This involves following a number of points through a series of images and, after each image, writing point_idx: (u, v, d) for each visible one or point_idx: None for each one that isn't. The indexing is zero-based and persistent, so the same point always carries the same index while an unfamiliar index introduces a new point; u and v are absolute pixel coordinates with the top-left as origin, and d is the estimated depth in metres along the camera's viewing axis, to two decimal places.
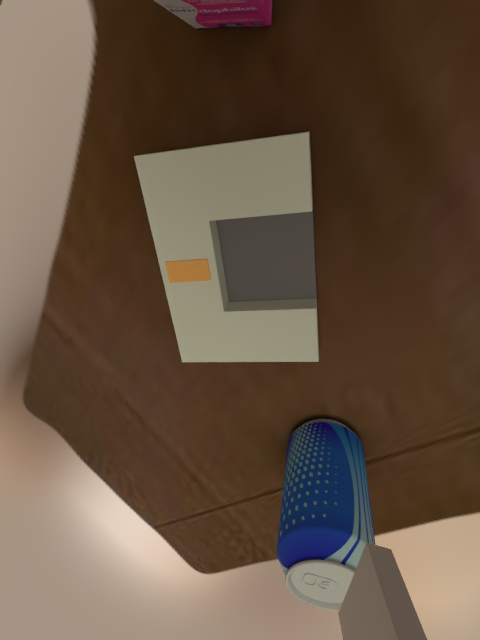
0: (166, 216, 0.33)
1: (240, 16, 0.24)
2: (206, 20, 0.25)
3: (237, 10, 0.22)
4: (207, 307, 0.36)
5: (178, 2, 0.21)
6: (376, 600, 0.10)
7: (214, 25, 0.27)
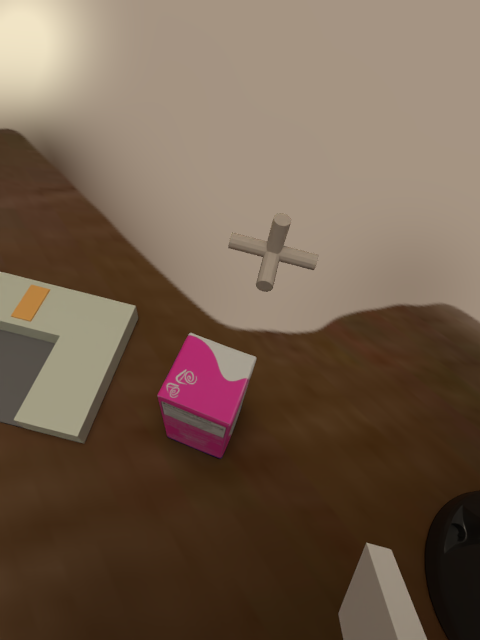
0: (83, 307, 0.39)
1: None
2: None
3: None
4: None
5: None
6: (376, 600, 0.10)
7: None
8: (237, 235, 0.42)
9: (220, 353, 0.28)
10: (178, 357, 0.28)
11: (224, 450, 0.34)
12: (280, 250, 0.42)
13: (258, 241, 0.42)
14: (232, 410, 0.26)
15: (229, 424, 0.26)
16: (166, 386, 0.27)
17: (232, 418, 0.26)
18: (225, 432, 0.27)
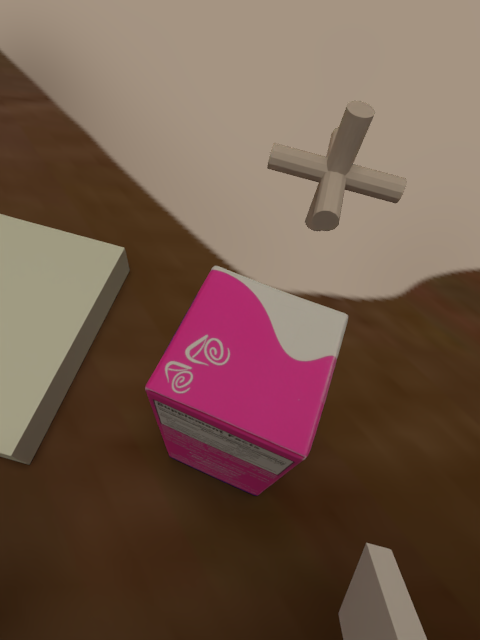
0: (42, 246, 0.25)
1: None
2: None
3: None
4: None
5: None
6: (376, 599, 0.10)
7: None
8: (282, 147, 0.28)
9: (276, 305, 0.14)
10: (191, 310, 0.14)
11: None
12: (349, 168, 0.27)
13: (314, 155, 0.28)
14: (308, 424, 0.12)
15: (304, 456, 0.11)
16: (165, 368, 0.12)
17: (310, 442, 0.12)
18: (287, 468, 0.13)
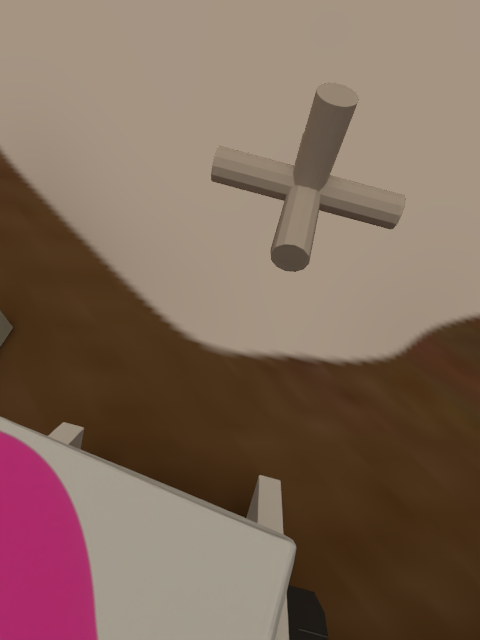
0: None
1: None
2: None
3: None
4: None
5: None
6: (255, 515, 0.12)
7: None
8: (230, 151, 0.20)
9: (118, 529, 0.06)
10: None
11: None
12: (324, 182, 0.19)
13: (275, 163, 0.19)
14: None
15: None
16: None
17: None
18: None
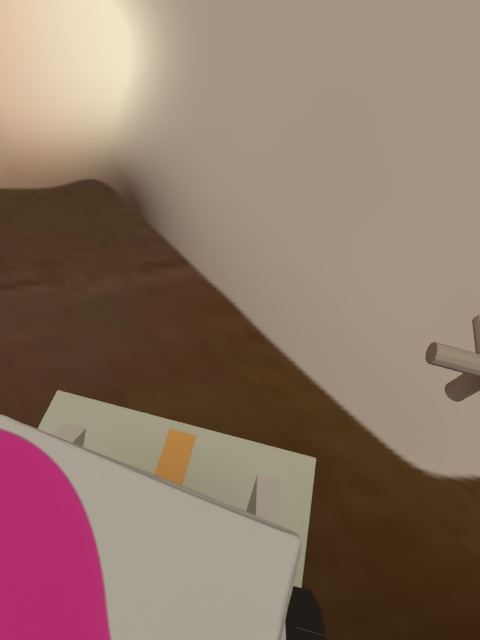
0: (246, 463, 0.27)
1: None
2: None
3: None
4: None
5: None
6: None
7: None
8: (446, 349, 0.30)
9: (127, 526, 0.06)
10: None
11: None
12: None
13: (475, 356, 0.30)
14: None
15: None
16: None
17: None
18: None
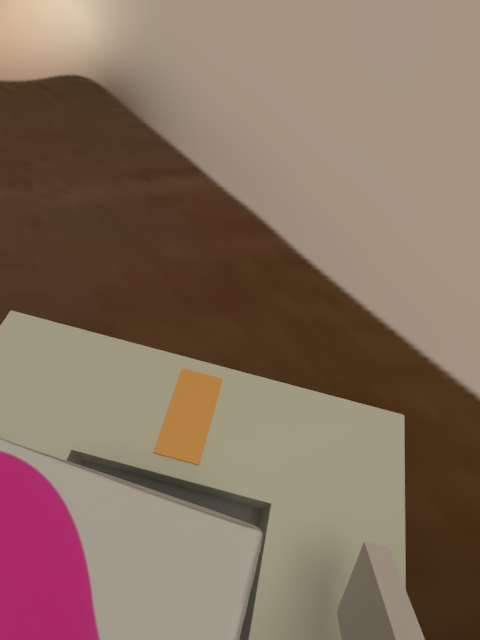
0: (300, 421, 0.18)
1: None
2: None
3: None
4: (99, 418, 0.17)
5: None
6: (374, 598, 0.10)
7: None
8: None
9: (109, 529, 0.07)
10: None
11: None
12: None
13: None
14: None
15: None
16: None
17: None
18: None
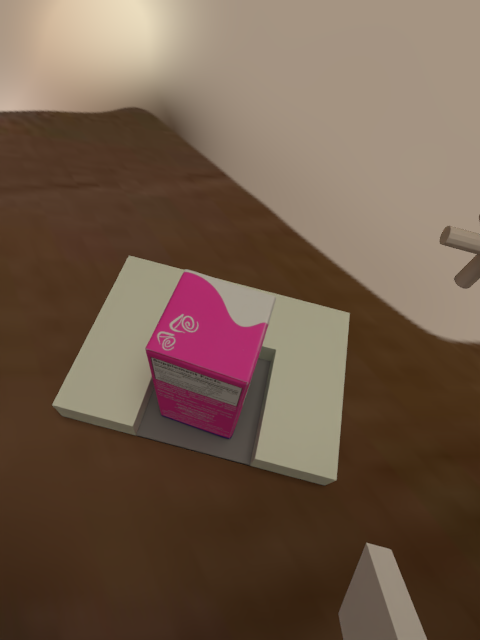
0: (291, 314, 0.32)
1: None
2: None
3: None
4: None
5: None
6: (376, 600, 0.10)
7: None
8: (458, 229, 0.35)
9: (228, 293, 0.21)
10: (171, 299, 0.21)
11: (234, 427, 0.27)
12: None
13: None
14: (249, 363, 0.19)
15: (247, 382, 0.19)
16: (157, 336, 0.19)
17: (250, 374, 0.19)
18: (240, 396, 0.20)
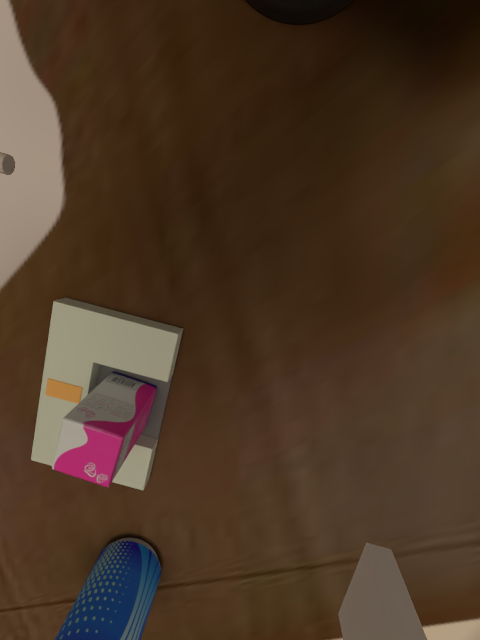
0: (61, 347, 0.42)
1: None
2: None
3: None
4: None
5: None
6: (376, 600, 0.10)
7: None
8: None
9: (65, 446, 0.34)
10: (74, 475, 0.35)
11: (149, 391, 0.43)
12: None
13: None
14: (111, 437, 0.34)
15: (122, 438, 0.34)
16: (99, 482, 0.35)
17: (117, 436, 0.34)
18: (130, 429, 0.36)
